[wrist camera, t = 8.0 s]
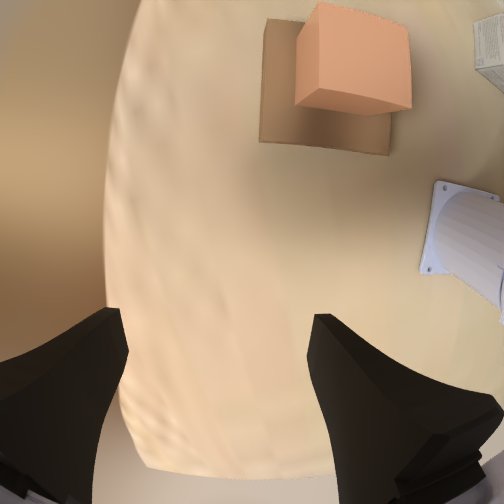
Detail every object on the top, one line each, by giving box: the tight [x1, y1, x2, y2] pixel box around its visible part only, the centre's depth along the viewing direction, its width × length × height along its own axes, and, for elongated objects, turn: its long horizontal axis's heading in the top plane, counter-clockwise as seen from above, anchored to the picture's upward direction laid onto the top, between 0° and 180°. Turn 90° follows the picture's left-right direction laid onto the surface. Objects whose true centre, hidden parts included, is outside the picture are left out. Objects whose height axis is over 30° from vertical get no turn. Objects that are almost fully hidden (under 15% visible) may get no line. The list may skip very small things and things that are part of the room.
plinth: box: [259, 19, 391, 156], centre depth 15 cm, size 8×8×2 cm
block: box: [295, 2, 412, 117], centre depth 11 cm, size 4×4×5 cm
